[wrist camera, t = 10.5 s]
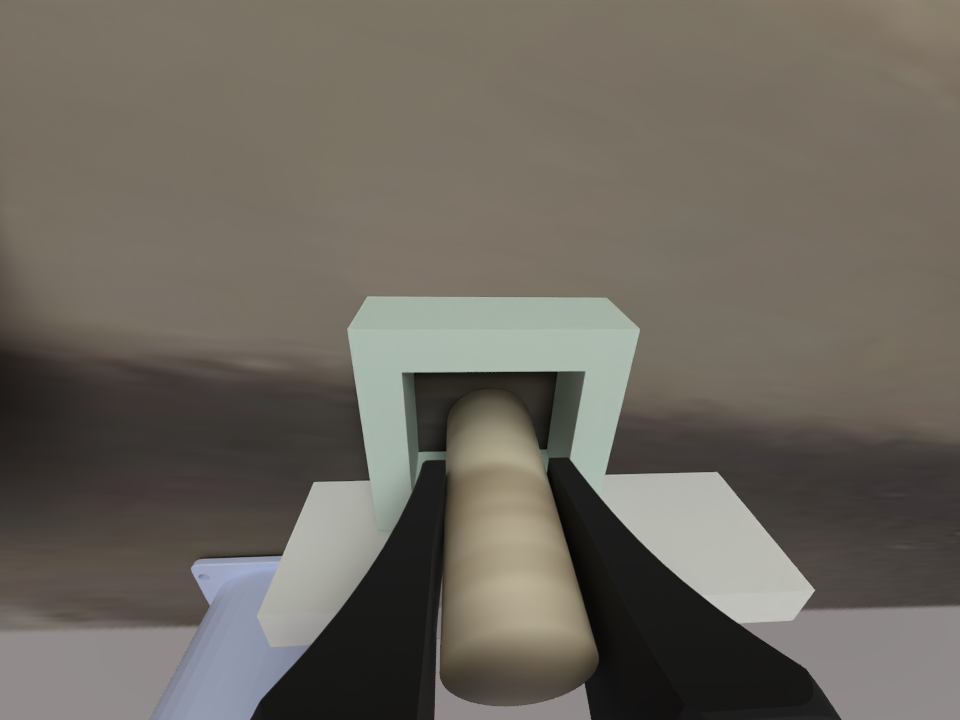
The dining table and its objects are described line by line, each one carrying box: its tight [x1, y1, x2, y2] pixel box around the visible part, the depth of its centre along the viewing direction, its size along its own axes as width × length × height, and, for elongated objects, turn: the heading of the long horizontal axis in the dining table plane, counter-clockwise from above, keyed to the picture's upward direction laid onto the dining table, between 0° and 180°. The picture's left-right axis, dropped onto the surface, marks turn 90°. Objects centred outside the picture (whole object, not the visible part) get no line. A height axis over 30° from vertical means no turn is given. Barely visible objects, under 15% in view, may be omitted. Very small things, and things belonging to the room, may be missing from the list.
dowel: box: [440, 388, 599, 706], centre depth 11 cm, size 3×3×8 cm
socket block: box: [347, 296, 640, 531], centre depth 15 cm, size 9×9×3 cm
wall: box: [257, 472, 815, 647], centre depth 17 cm, size 2×20×6 cm, turn 89°
